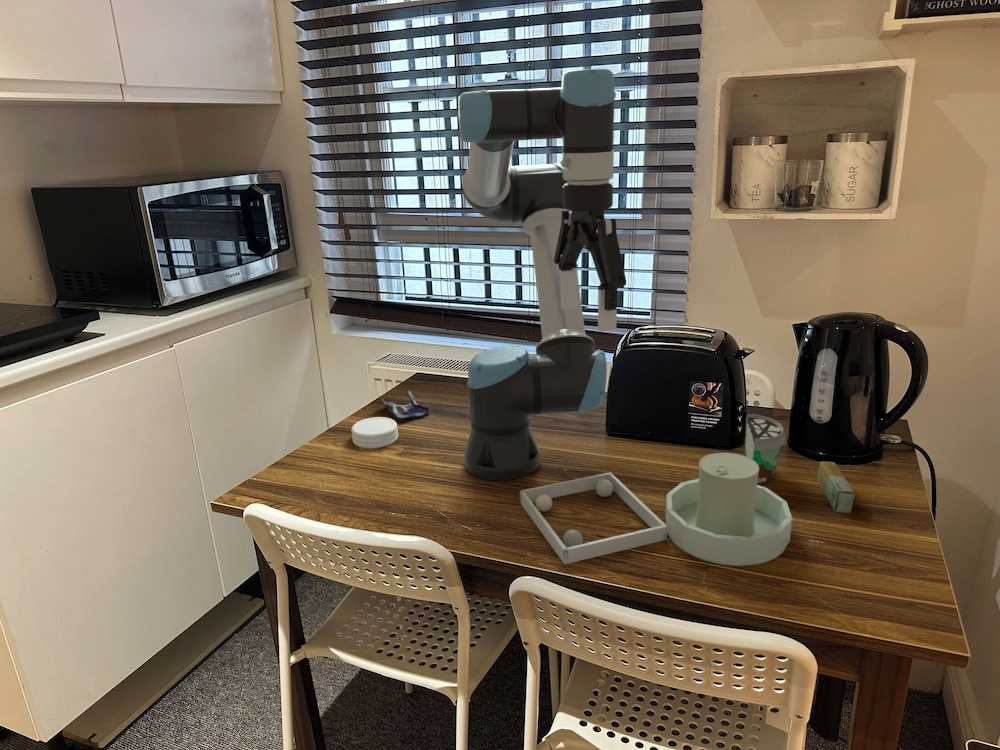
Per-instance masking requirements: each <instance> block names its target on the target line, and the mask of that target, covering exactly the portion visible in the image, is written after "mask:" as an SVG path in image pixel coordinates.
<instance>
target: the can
mask: <svg viewBox="0 0 1000 750" xmlns="http://www.w3.org/2000/svg"><path fill="white" fill-rule="evenodd" d="M698 467H699V468H698V469H699V470H698V471H699V472H698V473H699V474H698V479H699V488H698V506H697V519H696V522H695V526H696V527H697V528H700V529H703V530H706V531H708V532H711V533H714V534H717V535H730V536H744V537H751V536H753V534H754V514H755V502H756V491H757V482H758V473H759V466H758V464H757V463H756V462H755V461H754V460H752V459H750V458H748V457H746V456H744V454H738V453H734V452H733V453H732V452H714V453H708V454H706V455H704V456H702V458H701V459H700V460H699V462H698Z"/></svg>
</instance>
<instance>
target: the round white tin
mask: <svg viewBox="0 0 1000 750" xmlns="http://www.w3.org/2000/svg"><path fill="white" fill-rule="evenodd" d="M351 438H352V443H353V444H354V445H355V446H356V447H358V448H361V449H369V450H372V449H373V450H374V449H380V448H381V449H382V448H385V447H387V446H390V445H392V444H394V443H395V442H396V441H397V440H398V439H399V432H398V424H397V422H396V421H395V420H394V419H392V418H389V417H384V416H375V417H373V416H372V417H368V418H364V419H361V420H359V421H357V422H355V423H354V424H353V425H352V427H351Z"/></svg>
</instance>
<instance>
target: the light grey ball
mask: <svg viewBox="0 0 1000 750" xmlns="http://www.w3.org/2000/svg"><path fill="white" fill-rule="evenodd" d="M594 490H595V492H596V494H597V495H598V496H600V497H602V498H606V497H607V498H608V497H609V496H611V495H612V493H613V492H614V491H613V485H612V483H611V482H610V481H609V480H607V479H602V480H599V481H598V482H597V484H596V487H595V489H594Z"/></svg>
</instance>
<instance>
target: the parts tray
mask: <svg viewBox="0 0 1000 750" xmlns="http://www.w3.org/2000/svg"><path fill="white" fill-rule="evenodd" d="M602 479H607V480H609V481H610V482H611V483H612V485H613V492H614V493H616V495H617V496H618V497H619V498H620V499H622V501H623V502H624V503H625V504H626V505H627V506H628V507H629V508H630V509H631V510H632V511H633V512H634V513H635V514H636V515H638V517H639V518H640V519H641V520H643V522H644V523H646V524H647V526H648V527H649V528H644V529H640V530H636V531H632V532H627V533H624V534H620V535H619V534H618V535H614V536H610V537H606V538H602V539H598V540H593V541H590V542H585V543H584V542H583V543H582V544H580V545H576V546H572V547H566V546H565V545H564V543H563V540H561V538H560V536H558V534H557V533H556V532H555V531H554V529H553V528H552V527H551V525H550V524H549V522H548V521H547V520H546V518H544V516H543V515H542V513H541V511H540V510H538V509H537V507H536V505H535V501H536V498H537V497H538V496H539V495H542V494H545V495H548V496H549V497H550V498H551V499H553V498H558V497H563V496H568V495H572V494H577V493H583V492H587V491H591V490H592V491H593V490H596V489H595V487H596V484H597V482H598V481H599V480H602ZM519 503H520V506H522V508H523V509H524V511H525V512H526V514H527V515H528V516H529V517H530V519H531V520H532V521H533V523H534V524H535V526H536V527H537V528H538V530H539V531H540V532H541V534H542V536H544V538H545V540H546V541H547V542H548V543H549V545H550V547H552V549H553V550H554V552H555V553H556V555H557V556H558V557H559V559H560V560H561V562H562V563H563V564H564V565H568V564H572V563H576V562H579V561H580V562H581V561H583V560H584V561H586V560H588V559H592V558H596V557H597V558H598V557H601V556H605V555H610V554H614V553H618V552H620V551H621V552H622V551H625V550H630V549H634V548H635V549H636V548H638V547H641V546H642V547H643V546H646V545H651V544H655V543H659V542H662V541H666V540H668V534H667V525H666V523H665V522H664V521H663V520H662V519H660V517H658V516H657V515H656V514H655V513H654V512H653V511H652V510H651V509H650V508H649V507H648V506H647V505H646V504H645V503H644V502H642V500H641V499H640V498H638V497H637V495H635V494H634V493H633V492H632V490H630V489H629V488H628V487H627V486H626V485H625V484H624V483H623V482H621V481H620V479H618V478H617V477H616V476H615V475H614V474H613V472H611V471H609V472H605V473H604V472H603V473H599V474H594V475H590V476H584V477H580V478H575V479H571V480H565V481H561V482H555V483H551V484H545V485H541V486H535V487H532V488H527V489H521V490H519Z"/></svg>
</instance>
